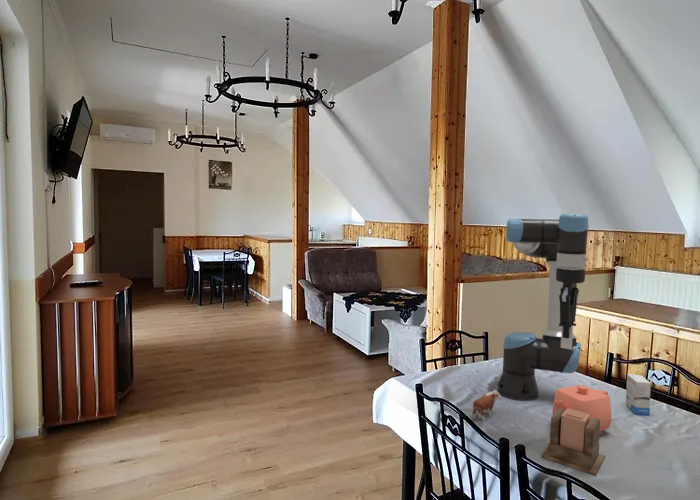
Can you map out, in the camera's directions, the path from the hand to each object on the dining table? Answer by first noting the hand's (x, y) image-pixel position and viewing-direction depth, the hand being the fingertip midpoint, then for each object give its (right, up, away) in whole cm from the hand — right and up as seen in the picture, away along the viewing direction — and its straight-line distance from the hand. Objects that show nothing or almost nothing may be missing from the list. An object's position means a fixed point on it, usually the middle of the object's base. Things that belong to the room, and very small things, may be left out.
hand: (566, 347), depth 133 cm
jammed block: (+1, -30, -3) cm, 30 cm away
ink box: (+40, -29, +30) cm, 58 cm away
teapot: (+11, -30, +15) cm, 35 cm away
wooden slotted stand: (+1, -31, -3) cm, 31 cm away
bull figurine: (-17, -29, +23) cm, 40 cm away
